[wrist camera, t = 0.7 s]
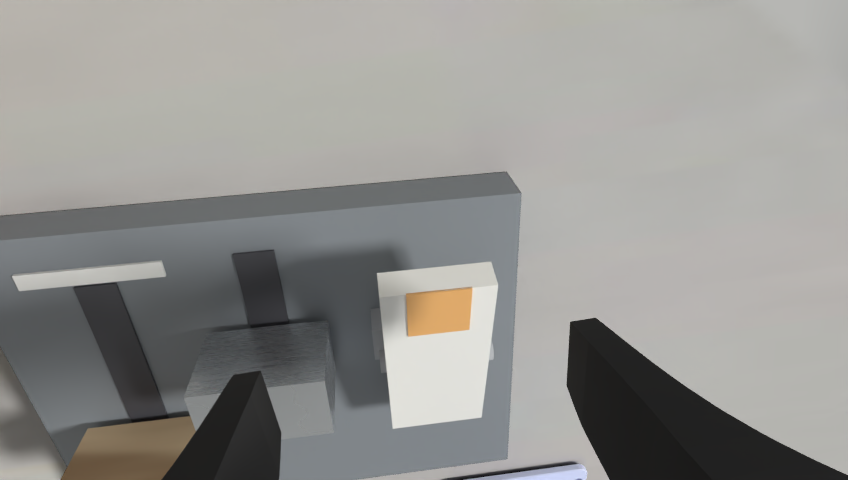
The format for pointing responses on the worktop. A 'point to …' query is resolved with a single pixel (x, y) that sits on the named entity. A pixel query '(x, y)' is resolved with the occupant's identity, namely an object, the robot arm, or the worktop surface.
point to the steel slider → (272, 373)
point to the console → (252, 307)
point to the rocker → (437, 341)
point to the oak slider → (130, 450)
